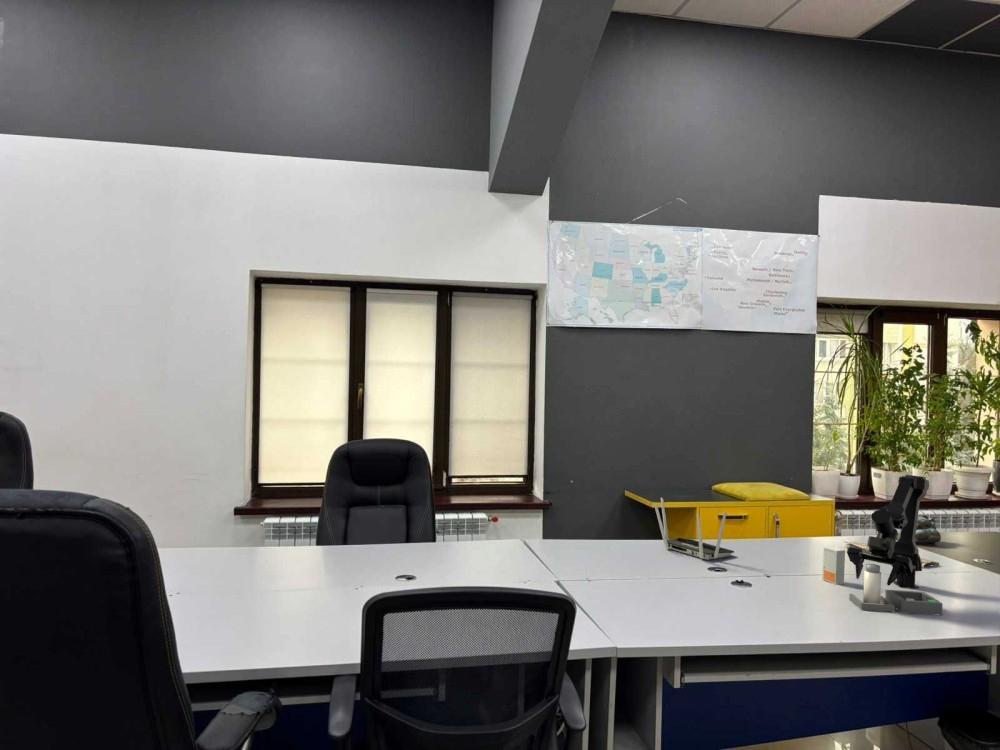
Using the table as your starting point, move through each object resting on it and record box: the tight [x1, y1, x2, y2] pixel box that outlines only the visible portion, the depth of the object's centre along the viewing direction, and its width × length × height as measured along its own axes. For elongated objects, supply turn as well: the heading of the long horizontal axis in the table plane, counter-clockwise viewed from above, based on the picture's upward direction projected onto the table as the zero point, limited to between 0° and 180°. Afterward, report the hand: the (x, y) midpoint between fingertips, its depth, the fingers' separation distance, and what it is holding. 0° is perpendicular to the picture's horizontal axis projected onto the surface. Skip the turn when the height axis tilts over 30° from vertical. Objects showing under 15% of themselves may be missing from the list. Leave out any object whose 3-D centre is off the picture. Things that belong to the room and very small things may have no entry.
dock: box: [884, 589, 943, 616], centre depth 231 cm, size 12×12×4 cm
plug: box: [862, 563, 882, 604], centre depth 231 cm, size 5×5×13 cm
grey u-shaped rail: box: [848, 593, 896, 612], centre depth 231 cm, size 10×10×2 cm
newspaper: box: [842, 540, 940, 569], centre depth 298 cm, size 35×12×4 cm, turn 28°
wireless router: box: [653, 497, 735, 560], centre depth 292 cm, size 34×23×20 cm
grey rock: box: [915, 515, 942, 544], centre depth 325 cm, size 15×12×14 cm
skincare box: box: [822, 545, 846, 585], centre depth 257 cm, size 6×4×12 cm
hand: (872, 581), depth 231 cm, fingers open, 9 cm apart
